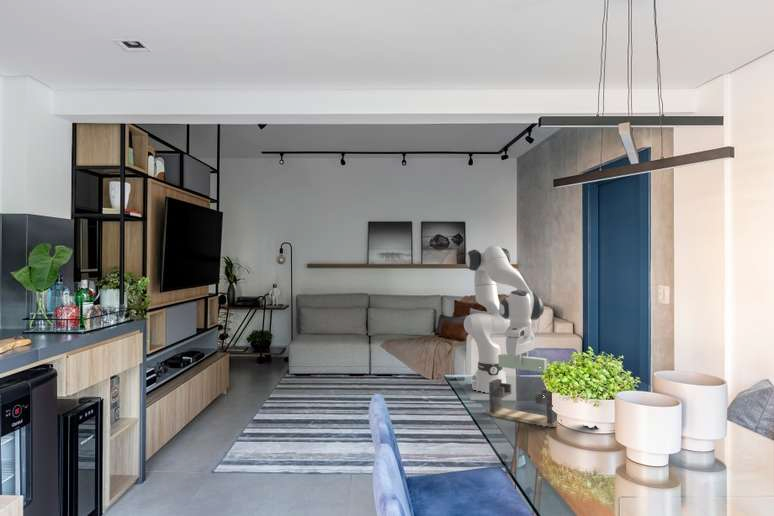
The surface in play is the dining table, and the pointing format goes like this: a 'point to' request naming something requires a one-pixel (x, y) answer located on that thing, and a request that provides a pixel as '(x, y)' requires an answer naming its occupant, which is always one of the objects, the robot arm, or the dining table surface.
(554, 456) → the dining table surface
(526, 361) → the rail
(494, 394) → the rail stand
